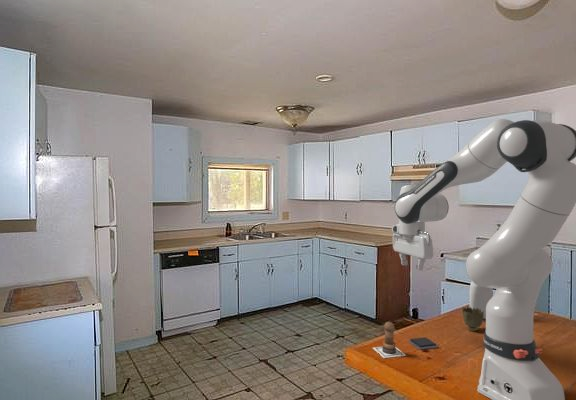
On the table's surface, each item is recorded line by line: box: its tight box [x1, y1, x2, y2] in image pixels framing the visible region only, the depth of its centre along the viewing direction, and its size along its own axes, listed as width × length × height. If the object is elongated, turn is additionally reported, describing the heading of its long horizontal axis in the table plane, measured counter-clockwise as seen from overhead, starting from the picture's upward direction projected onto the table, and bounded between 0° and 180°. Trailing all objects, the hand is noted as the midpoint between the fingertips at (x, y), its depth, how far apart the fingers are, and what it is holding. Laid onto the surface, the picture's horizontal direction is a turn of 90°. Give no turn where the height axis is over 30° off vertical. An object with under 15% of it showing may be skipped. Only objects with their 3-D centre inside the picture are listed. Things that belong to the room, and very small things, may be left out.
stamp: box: [381, 321, 397, 354], centre depth 125 cm, size 4×4×10 cm
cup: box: [461, 306, 484, 332], centre depth 144 cm, size 8×7×8 cm
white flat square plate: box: [372, 346, 407, 359], centre depth 125 cm, size 8×8×1 cm
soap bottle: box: [468, 280, 494, 320], centre depth 158 cm, size 14×8×27 cm, turn 122°
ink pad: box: [408, 336, 439, 351], centre depth 131 cm, size 7×7×1 cm
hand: (411, 267), depth 134 cm, fingers open, 8 cm apart
